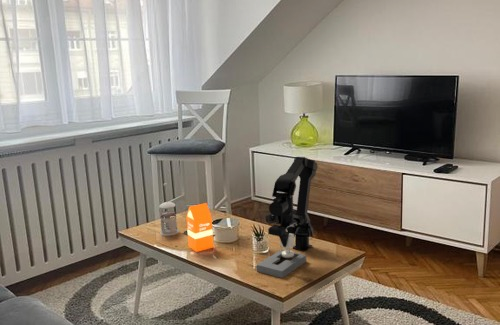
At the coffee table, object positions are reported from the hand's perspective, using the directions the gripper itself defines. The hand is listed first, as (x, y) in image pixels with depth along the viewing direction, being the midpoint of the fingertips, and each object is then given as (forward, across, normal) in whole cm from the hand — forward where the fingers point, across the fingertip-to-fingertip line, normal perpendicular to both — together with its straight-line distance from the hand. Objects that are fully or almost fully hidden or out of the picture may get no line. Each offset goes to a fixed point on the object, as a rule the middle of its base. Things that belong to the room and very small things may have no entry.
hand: (287, 244), depth 209 cm
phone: (+8, -6, -55) cm, 56 cm away
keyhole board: (+8, +5, 0) cm, 9 cm away
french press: (+8, -1, -71) cm, 71 cm away
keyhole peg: (+4, 0, 0) cm, 4 cm away
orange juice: (+8, +6, -43) cm, 44 cm away
